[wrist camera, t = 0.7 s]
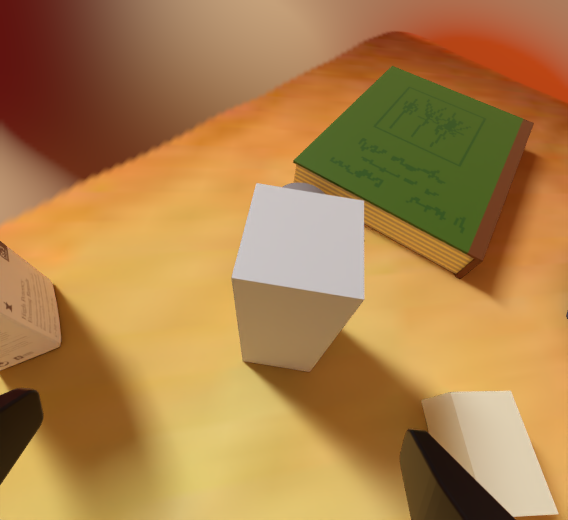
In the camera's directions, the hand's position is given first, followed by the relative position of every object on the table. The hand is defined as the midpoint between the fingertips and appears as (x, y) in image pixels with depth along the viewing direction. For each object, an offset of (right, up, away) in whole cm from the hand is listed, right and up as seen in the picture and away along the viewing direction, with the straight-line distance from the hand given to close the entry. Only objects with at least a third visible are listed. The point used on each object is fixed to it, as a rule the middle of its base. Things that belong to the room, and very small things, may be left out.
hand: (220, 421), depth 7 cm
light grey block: (+1, -2, +16) cm, 16 cm away
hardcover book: (+17, +15, +29) cm, 37 cm away
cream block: (+14, -9, +13) cm, 21 cm away
